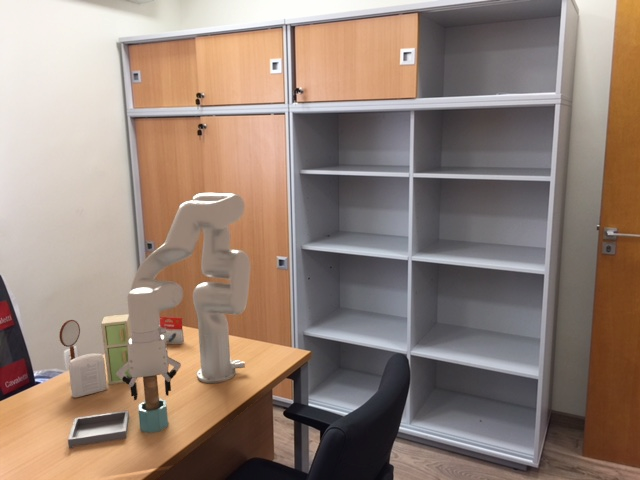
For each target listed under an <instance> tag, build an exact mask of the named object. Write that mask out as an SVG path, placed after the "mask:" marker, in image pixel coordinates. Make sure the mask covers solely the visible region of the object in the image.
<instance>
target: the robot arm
mask: <svg viewBox="0 0 640 480" xmlns="http://www.w3.org/2000/svg"><path fill="white" fill-rule="evenodd" d="M245 209H246V207H245V201H244V199H243V197H242V196H241V195H239V194H236V193H225V192H224V193H222V192H220V193H219V192H201V193H197V194H195V195H194V196H193V197H192V200H187V201H184V202H182V203H181V204H180V205H179V207H178V209H177V211H176V214H175V216H174V218H173V221H172V223H171V226H170V229H169V230H168V233H167V236H166V238H165V241H164V243H163V244H161V246H159V247H158V248H156V249H155V250H153V251H152V253H150V254H149V255H148V256H147V257H145V259H144V260H143V261H142V262H141V263H140V265H139V266H138V269H137V272H136V273H135V276H134V278H133V281H132V284H131V288H130V291H129V292H128V293H127V296H126V297H127V298H126V299H127V309H128V314H129V320H130V331H131V339H130V340H129V344H128V362H127V363H126V364H125V365H124V366H123V367H121V368H120V369H119V370H118V371H117V375H118V376H119V377H120V378H121V379H122V380H123V381H124V382H125V383H124V384H127V385H128V387H130V389H129V390H130V396H131V397H133V401H137V400H138V395H139V394H138V385H137V382H136V381H137V379H138V378H139V379H140V378H143V377H147V376H155V375H157V376H160V375H161V376H162V377H163V378H164V389H165V390H164V391H165V396H166V397H168V396H169V393H170V392H171V391H172V388H171V387H172V385H171V381H172V379H173V378H174V377H175V376H176V375H177V373H178V371H179V370H180V369H181V367H182V365H181V362H179V361H177V360H175V359H173V358H171V357H169V352H168V347H167V343H166V341H165V338H164V336H163V335H162V334H163V333H166V328H162V327H160V318H159V317H160V313H161V312H163V311H167V310H171V309H174V308H176V307H177V306H178V305H179V304H180V303H182V301H183V298H184V288H182V286H181V284H179V283H177V282H176V281H173V280H172V281H170V280H162V279H156V278H157V276H158V275H159V273H161V272H162V271H163V270H164V269H166V268H167V267H169V266H171V265H174V264H176V263H179V262H182V261H183V260H186V259H188V258H190V257H191V256H193V254H194V252H195V249H196V246H197V243H198V240H199V238H200V235H201V233H202V231H203V244H202V253H201V264H200V267H201V268H200V269H201V272H202V275H204V276H205V277H208V278H212V279H213V278H214V279H221V280H229V283H226V282H215V281H206V282H205V281H204V282H201V283H199V284H197V286H195V288H194V289H193V292H192V301H193V306H194V309H195V310H194V311H195V313H196V318H197V325H198V340H199V342H198V343H199V354H200V356H199V358H200V369H198V370H197V372H196V378H197V379H198V381H201V382H202V383H207V384H218V383H223V382H227V381H229V380H231V379H232V378H233V377H235V375H236V371H237V370H236V369H244V368H246V363H245V361H241V360H240V359H237V360H233V359H232V358H231V352H230V350H231V349H230V336H229V335H230V333H229V332H230V331H229V322H228V318H227V316H226V315H236V316H237V315H241V314H243V312H245V310H246V307H247V305H248V301H249V291H250V290H249V289H250V279H251V278H250V277H251V266H252V265H251V260H250V257H249V255H248V254H247V252H245V251H244V250H241V249H233V248H231V230H230V229H229V226H231V225H233V224H235V223H236V222H238V221H239V220H241V218H242V217H243V215H244V213H245ZM169 365H170V366H172V367H173V368H172V369H171V370H170V371H169V368H170V367H169ZM128 369H129V375H130V377H131V378H130V377H129V376H127V375H125V373H124V372H125V371H127V370H128Z"/></svg>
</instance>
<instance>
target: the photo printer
mask: <svg viewBox="0 0 640 480" xmlns="http://www.w3.org/2000/svg"><path fill="white" fill-rule="evenodd" d="M105 366H106V362H105V359H104V356H103V354H102V353H87V354H83V355H79V356H77V357H75V358H74V359H72V360H71V359H70V360H69V365H68V369H69V370H68V371H69V380H70V389H71V396H72V397H73V398H79V397H83V396H88V395H92V394H96V393H99V392H103V391H105V390H107V388H108V385H107V374H106V373H107V372H106V367H105Z"/></svg>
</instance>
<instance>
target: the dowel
mask: <svg viewBox="0 0 640 480" xmlns="http://www.w3.org/2000/svg"><path fill="white" fill-rule="evenodd" d="M142 380H143V382H142V383H143V392H144V401H145V405H146V410H147V411H150V410H157V409H158V408H160V405H159V398H160V394H159V385H158V384H159V383H158V375H155V376H147V377H142Z"/></svg>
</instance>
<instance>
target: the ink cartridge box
mask: <svg viewBox="0 0 640 480" xmlns="http://www.w3.org/2000/svg"><path fill="white" fill-rule="evenodd" d="M159 318H160V327H162V328H166V333H163V334H162V335H163V336H164V338H165V341H166V344H176V345H182V344H183V343H184V342H185V338H184V337H185V336H184V329H183V317H172V316H159ZM167 320H170V321H167Z"/></svg>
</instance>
